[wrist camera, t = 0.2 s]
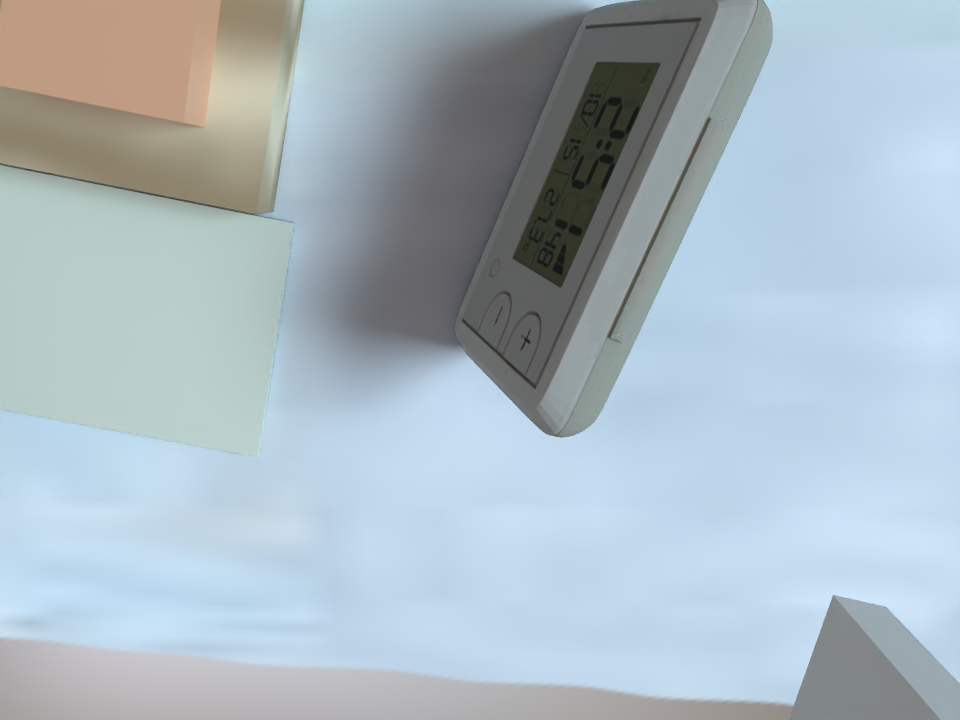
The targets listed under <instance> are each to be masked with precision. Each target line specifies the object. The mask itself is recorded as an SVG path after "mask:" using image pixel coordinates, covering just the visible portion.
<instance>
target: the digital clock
mask: <svg viewBox="0 0 960 720" xmlns="http://www.w3.org/2000/svg"><path fill="white" fill-rule="evenodd" d="M772 37H773V27H772V19H771V14H770V11H769V9H768V7H767V5H766V4H765V2H764V0H638V1H630V2H621V3H615V4H611V5H606V6H602V7H599V8H596V9H593V10H592V11H590V12H589V13H588V14H587V15H586V16H585V17H584V19H583V20H582V22H581V24H580V26H579V28H578V30H577V32H576V35H575V37H574V39H573V42H572V44H571V46H570V48H569V51H568V53H567V55H566V58H565V60H564V62H563V64H562V67H561V69H560V71H559V74H558V76H557V79H556V81H555V83H554V86H553V88H552V90H551V93H550V95H549V98H548V100H547V102H546V105H545V107H544V109H543V112H542V114H541V117H540V119H539V121H538V124H537V126H536V128H535V131H534V133H533V136H532V138H531V140H530V143H529V145H528V147H527V150H526V152H525V155H524V157H523V159H522V162H521V164H520V166H519V169H518V171H517V174H516V176H515V178H514V181H513V183H512V185H511V188H510V190H509V193H508V195H507V197H506V200H505V202H504V204H503V207H502V209H501V212H500V214H499V216H498V219H497V221H496V223H495V226H494V228H493V230H492V233H491V235H490V238H489V240H488V242H487V245H486V247H485V249H484V252H483V254H482V257H481V259H480V261H479V264H478V266H477V268H476V271H475V273H474V276H473V278H472V280H471V283H470V285H469V288H468V290H467V293H466V295H465V298H464V300H463V303H462V305H461V307H460V310H459V312H458V315H457V318H456V321H455V326H454V331H455V335H456V337H457V339H458V340H459V342H460V344H461V346H462V348H463V349H464V351H465V352H466V354H467V355H468V356H469V357H470V358H471V359H472V360H473V361H474V363H475V364H476V365H477V366H478V367H479V368H480V369H481V370H482V371H483V372H484V373H485V374H486V375H487V376H488V377H489V378H490V379H491V380H492V381H493V382H494V383H495V384H496V385H497V386H498V387H499V388H500V389H501V390H502V391H503V392H504V393H505V394H506V396H507V397H508V398H509V399H510V400H511V401H512V402H513V403H514V404H515V405H516V406H517V407H518V408H519V409H520V410H521V411H522V412H523V413H524V414H525V415H526V416H527V417H528V418H529V419H530V420H531V421H532V422H533V423H534V424H535V425H536V426H537V427H538V428H539V429H540V430H542V431H543V432H544V433H546V434H548V435H552V436H555V437H569V436H573V435H576V434H578V433H580V432H582V431H584V430H585V429H586V428H588V427H589V426H590V425H592V424H593V423H594V422H595V420H596V419H597V417H598V416H599V414H600V413H601V411H602V409H603V407H604V405H605V403H606V401H607V399H608V396H609V394H610V392H611V390H612V388H613V386H614V384H615V382H616V380H617V378H618V376H619V374H620V372H621V370H622V368H623V366H624V364H625V361H626V359H627V357H628V355H629V353H630V351H631V349H632V347H633V344H634V342H635V340H636V338H637V336H638V334H639V332H640V329H641V327H642V325H643V323H644V321H645V319H646V317H647V314H648V312H649V310H650V308H651V306H652V304H653V302H654V299H655V297H656V295H657V293H658V291H659V289H660V287H661V284H662V282H663V280H664V278H665V276H666V274H667V272H668V270H669V267H670V265H671V263H672V261H673V259H674V257H675V255H676V252H677V250H678V248H679V246H680V244H681V242H682V240H683V237H684V235H685V233H686V231H687V229H688V227H689V225H690V222H691V220H692V218H693V216H694V214H695V212H696V210H697V207H698V205H699V203H700V201H701V199H702V197H703V195H704V193H705V190H706V188H707V186H708V184H709V182H710V180H711V178H712V175H713V173H714V171H715V169H716V167H717V165H718V163H719V160H720V158H721V156H722V154H723V152H724V150H725V148H726V145H727V143H728V141H729V139H730V137H731V135H732V133H733V130H734V128H735V126H736V124H737V122H738V120H739V118H740V115H741V113H742V111H743V109H744V107H745V105H746V102H747V100H748V98H749V96H750V94H751V92H752V89H753V87H754V85H755V83H756V80H757V78H758V76H759V73H760V71H761V69H762V67H763V64H764V62H765V60H766V58H767V55H768V53H769V50H770V47H771V43H772Z"/></svg>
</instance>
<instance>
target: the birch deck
mask: <svg viewBox="0 0 960 720" xmlns="http://www.w3.org/2000/svg"><path fill="white" fill-rule="evenodd" d="M303 6H304V0H221V5H220V12H219V20H218V28H217V36H216V44H215V52H214V59H213V67H212V75H211V83H210V91H209V99H208V106H207V114H206V122H205V127H201V126H196V125H191V124H186V123H181V122H176V121H171V120H166V119H161V118H156V117H151V116H146V115H141V114H137V113H132V112H127V111H122V110H117V109H112V108H107V107H102V106H97V105H92V104H87V103H82V102H77V101H72V100H67V99H63V98H58V97H53V96H48V95H43V94H38V93H33V92H28V91H23V90H18V89H14V88H9V87H4V86H0V163H2V164H7V165H12V166H17V167H22V168H27V169H32V170H37V171H42V172H47V173H52V174H57V175H62V176H67V177H72V178H77V179H83V180H88V181H93V182H98V183H103V184H108V185H113V186H118V187H123V188H128V189H133V190H138V191H143V192H148V193H153V194H158V195H163V196H168V197H173V198H178V199H183V200H188V201H193V202H198V203H203V204H208V205H213V206H218V207H223V208H228V209H233V210H238V211H243V212H249V213H254V214H260V213H267V212H273V211H274V204H275V197H276V191H277V184H278V177H279V170H280V163H281V156H282V150H283V143H284V136H285V129H286V122H287V115H288V109H289V102H290V95H291V88H292V81H293V74H294V68H295V61H296V54H297V47H298V40H299V33H300V27H301V20H302V13H303ZM0 8H1V0H0Z"/></svg>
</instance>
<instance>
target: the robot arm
mask: <svg viewBox="0 0 960 720" xmlns="http://www.w3.org/2000/svg"><path fill="white" fill-rule="evenodd" d="M789 720H960V683H959V682H958V681H957V680H956V679H955V678H954V677H953V676H952V675H951V674H950V673H949V672H948V671H947V670H946V669H945V668H944V667H943V666H942V665H941V664H940V663H939V662H938V661H937V660H936V659H935V657H934V656H933V655H932V654H931V653H930V652H929V651H928V650H927V649H926V648H925V647H924V646H923V645H922V644H921V643H920V642H919V641H918V640H917V639H916V638H915V637H914V636H913V635H912V634H911V632H910V631H909V630H908V629H907V628H906V627H905V626H904V625H903V624H902V623H901V622H900V621H899V620H898V619H897V618H896V617H895V616H894V615H893V614H892V613H891V612H890V611H889V610H888V609H887V608H886V607H884V606H879V605H875V604H870V603H866V602H862V601H857V600H853V599H848V598H844V597H840V596H835V595H833V597H832V600H831V603H830V606H829V608H828V611H827V614H826V617H825V620H824V622H823V625H822V628H821V631H820V634H819V636H818V639H817V642H816V645H815V648H814V651H813V653H812V656H811V659H810V662H809V665H808V667H807V670H806V673H805V676H804V679H803V681H802V684H801V687H800V690H799V693H798V695H797V698H796V701H795V704H794V707H793V710H792V712H791V715H790V718H789Z"/></svg>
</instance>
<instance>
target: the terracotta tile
mask: <svg viewBox="0 0 960 720" xmlns="http://www.w3.org/2000/svg"><path fill="white" fill-rule="evenodd" d="M220 5H221V0H1V8H0V86H4V87H9V88H14V89H18V90H23V91H28V92H33V93H38V94H43V95H48V96H53V97H58V98H63V99H67V100H72V101H77V102H82V103H87V104H92V105H97V106H102V107H107V108H112V109H117V110H122V111H127V112H132V113H137V114H141V115H146V116H151V117H156V118H161V119H166V120H171V121H176V122H181V123H186V124H191V125H196V126H201V127H205V122H206V114H207V106H208V99H209V91H210V83H211V75H212V67H213V59H214V52H215V44H216V36H217V28H218V20H219V12H220Z"/></svg>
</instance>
